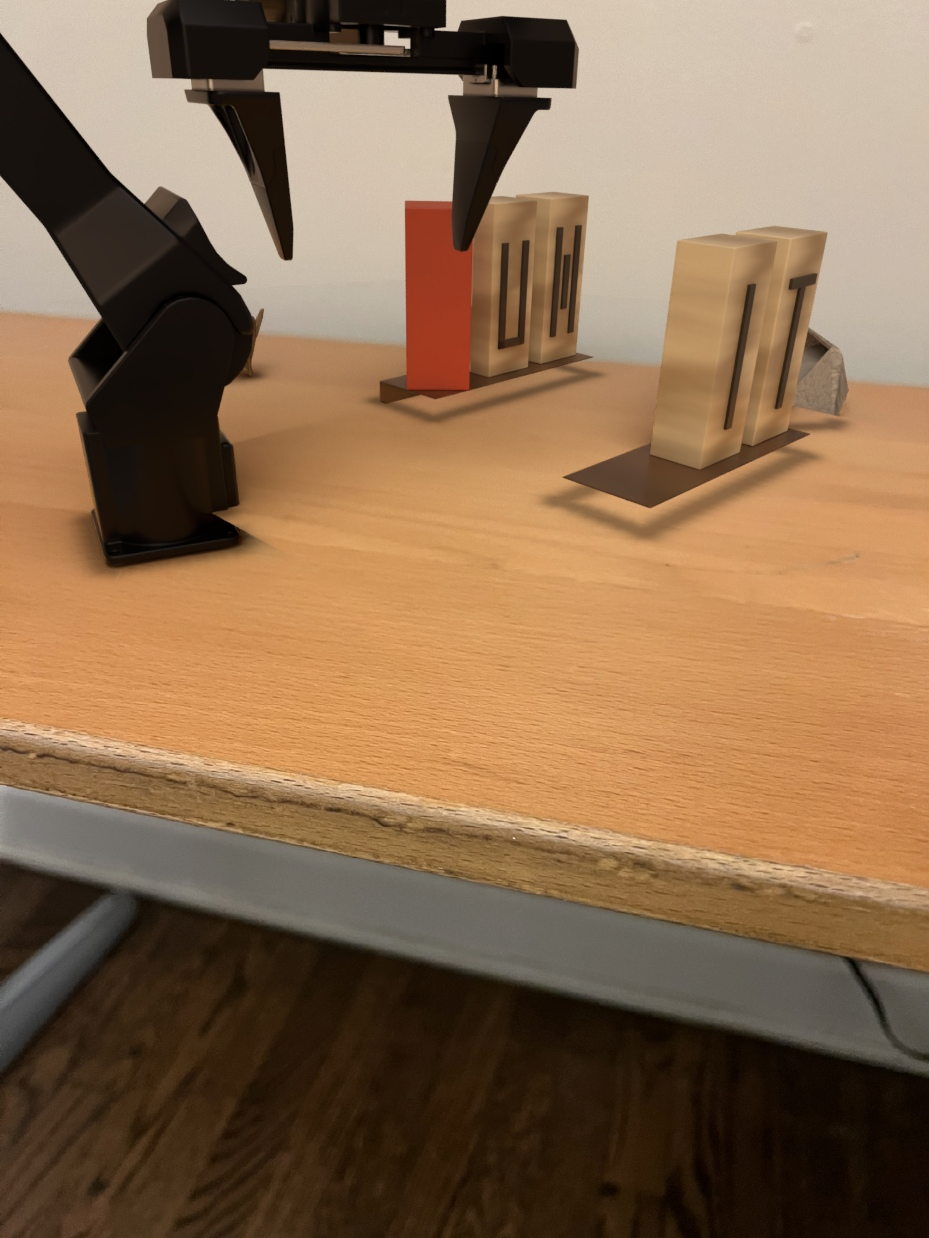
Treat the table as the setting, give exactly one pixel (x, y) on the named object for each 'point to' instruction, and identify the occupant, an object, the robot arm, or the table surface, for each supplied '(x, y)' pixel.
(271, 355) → the table surface
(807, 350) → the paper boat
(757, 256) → the sit board
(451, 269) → the red letter block
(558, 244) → the wooden blocks on base
